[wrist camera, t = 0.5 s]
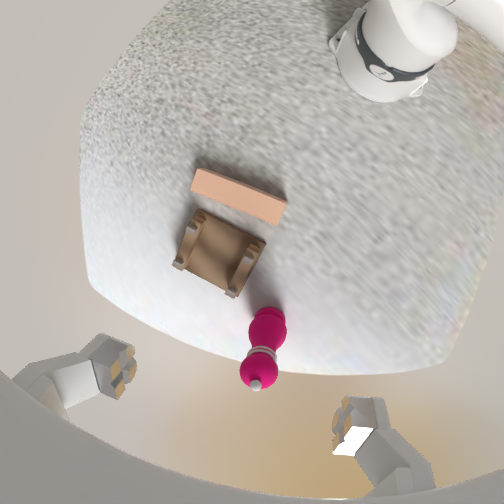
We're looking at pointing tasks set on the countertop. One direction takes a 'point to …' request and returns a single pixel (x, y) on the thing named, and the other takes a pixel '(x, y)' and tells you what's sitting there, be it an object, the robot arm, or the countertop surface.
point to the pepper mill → (263, 349)
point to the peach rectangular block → (238, 195)
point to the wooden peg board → (218, 252)
